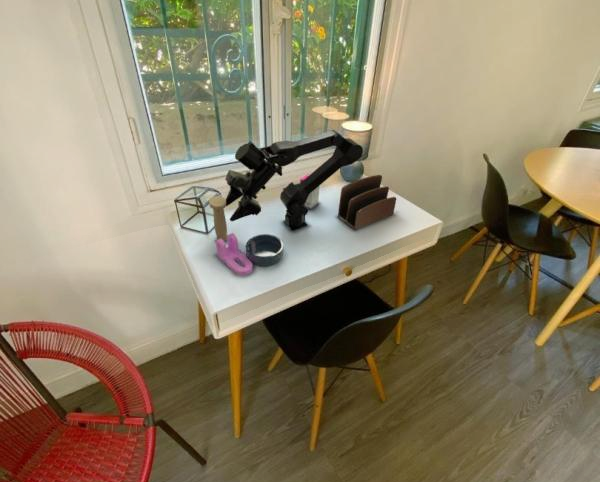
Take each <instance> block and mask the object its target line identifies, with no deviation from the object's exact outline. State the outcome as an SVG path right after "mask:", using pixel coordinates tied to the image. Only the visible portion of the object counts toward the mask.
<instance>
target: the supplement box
mask: <svg viewBox="0 0 600 482" xmlns="http://www.w3.org/2000/svg"><path fill="white" fill-rule="evenodd" d="M309 175H310V174H309V173H307V174H306V175H304V176H303V177H301V178H300V179H299V183H301V182H302V181H303V180H304V179H306V178H307V177H308V176H309ZM319 197H320V186H318V187H317V188H316V189H315V190H314V191H313V192H311V193H310V194H309V196H308V198H307V200H306V203H305V204H304V205H305V206H306V207H307V208H308V210H312V209H314V208H315V207H316V206H317V205H318V204H319Z"/></svg>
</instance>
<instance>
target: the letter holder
mask: <svg viewBox="0 0 600 482" xmlns="http://www.w3.org/2000/svg"><path fill="white" fill-rule="evenodd" d="M382 180H383V175H382V174H375V175H370V176H366V177H363V178H361V179H358V180H355V181H352V182H350V183H347V184H345V185H344V186H342V188H341V189H340V197H339V204H338V212H337V218H338V219H340V220H341V221H342V222H344V223H345V224H346V225H348V226H349V227H350V228H352V230H354V231H355V230H358V229H360V228H363V227H365V226H369V225H371V224H374V223H375V222H378V221H381V220H383V219H385V218H386V219H387V218H389V217H391V216H393V215H394V214H395V208H396V205H397V204H396V203H397V197H396V196H391V197H388V195H389V191H390V187H389V186H381V184H382Z"/></svg>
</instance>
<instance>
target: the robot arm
mask: <svg viewBox="0 0 600 482" xmlns="http://www.w3.org/2000/svg"><path fill="white" fill-rule="evenodd" d="M331 147H335V149H334V150H333V154H332V155H331V156H330V157H329V158H328V159H327V160H326V161H324V162H323V163H322V164H320V166H318V167H317V168H316V169H315V170H314V171H313V172H311V173H310V174H309V176H308V177H307V178H306V179H304V180H303V181H302V182H301V183H300V182H299V183H295V184H294V182H292V181H291V182H289V183H288V185H287V186H285V187H284V188H282V191H281V193H280V195H279V196H280V197H279V199H280V201H281V203H282V204H283V206H284V207H285V209H286V210H285V215H284V220H283V224H285V226H287V228H289V229H290V231H291V232H294V231H297V230H300V229H303V228H306V227H308V223H307V222H306V216H307V215H308V212H309V208H307V207H306V206H305V205H304V204H305V203H306V200H307V198H308V196H309V194H310V193H311V192H313V191H314V190H315V189H316V188H317V187H318V186H319V187H320V186H321V185H323V183H325V182H326V181H327V180H328V179H329V178H330V177H332V176H333V175H334V174H336V172H338V170H340V169H341V168H344V167H347V166H351V165H353V164H354V163H356V162H357V161H359V160H360V159H361V158H362V157H363V154H364V149H363V146H362V145H361V144H359V143H358V142H356V140H354V139H352V138H350V137H349V138H347V137H344V136H342V135H341V134H340V133H339V132H338V131H337V130H336V129H335V130H334V129H330V130H329V129H328V131H325V132H323V133H319V134H315V135H313V136H309V137H306V138H302V139H299V140H293V141H292V140H282V141H275V142H273V143H271V145H268V146H263V147H257V146H256V144H255V143H254V142H253V141H252V140H249V141H248V142H247V143H244V144H242V145H240V146H239V147H238V149H237V150H236V151H235V154H234V159H235V160H236V161H238V162H239V163H240V164H242V165H243V166H244V167H246V168H247V169H248V170H250V171H251V172H250V171H246V172H245V174H244V173H242V172H239V171H235V170H231V169H228V171H227V174H226V176H225V179H224V181H226V184H227V185H228V186H229V191H228V193H227V195H226V198H225V200H226V207H228V206H230V205H231V204H233V203H235V201H237V200H238V199H240V200H238V201H237V203H238V206H237V208H236V209H235V210H234V212H233V213H232V215H231V216H230V218H229V221H230V222H235V221H237V220H240V219H243V218H245V217H248V216H251V215H252V216H254V215H255V216H258V215H259V214H260V213H261V212H262V206H261V205H260V203H259V202H258V201H257V198H258V193H259V192H260V191H261V190H263V191H264V190H266V189H267V187H266V185H267V184H268V183H269V181H270V180H271V179H272V178H273V177H274V176H275V175H276V174H277V175H278V176H280V177H282V176H283V167H287V166H288V165H290V164H293V163H294V162H296V161H297V160H298V159H300V158H301V157H302V156H305V155H308V154H311V153H315V152H318V151H321V150H324V149H328V148H331Z"/></svg>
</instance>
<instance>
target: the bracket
mask: <svg viewBox="0 0 600 482" xmlns="http://www.w3.org/2000/svg"><path fill="white" fill-rule="evenodd" d="M226 240H227V244H226V241H223V239H221V238H220V239H218V240H217V239H216V240H215V246H216V247H215V248H216V256H217V257H218V258H219V259H220V260H221V261H222V262H223V263H224V264H225V265H226V266H228V267H229V268H230V269H231V270H232V271H233V272H234V273H235V274H236V275H239V276H246V275H249V274H250V273H252V271H253V268H254V267H253V266H254V265H253V264H252V262H251V261H250V260H249V259H248V258H247V256H246V255H244V253H242V252H241V251H240V249H239V240H238V237H237V236H236V234H235V233H234V232H232V233H229V234H227V239H226ZM236 261H238V262H240V264H241V265H242V266H243V267H242V266H241V265H240V264H238V263H237V262H236Z"/></svg>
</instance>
